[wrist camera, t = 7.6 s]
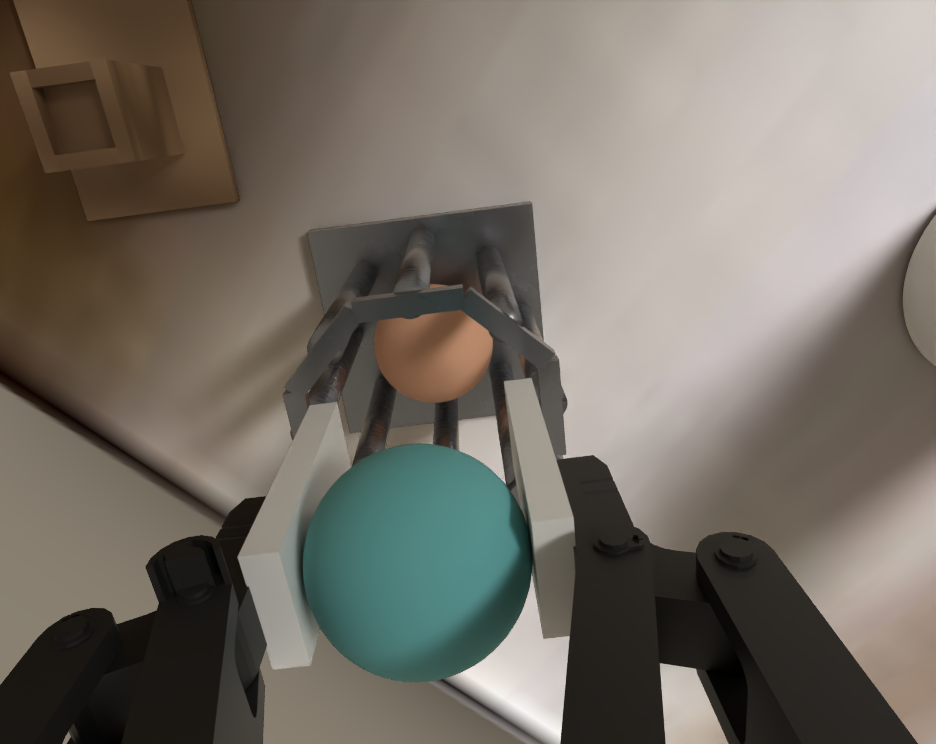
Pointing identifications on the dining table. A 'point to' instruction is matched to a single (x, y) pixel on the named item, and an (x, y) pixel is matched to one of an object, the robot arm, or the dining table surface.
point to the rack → (124, 104)
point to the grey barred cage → (408, 296)
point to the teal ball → (417, 563)
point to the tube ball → (433, 354)
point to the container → (922, 294)
